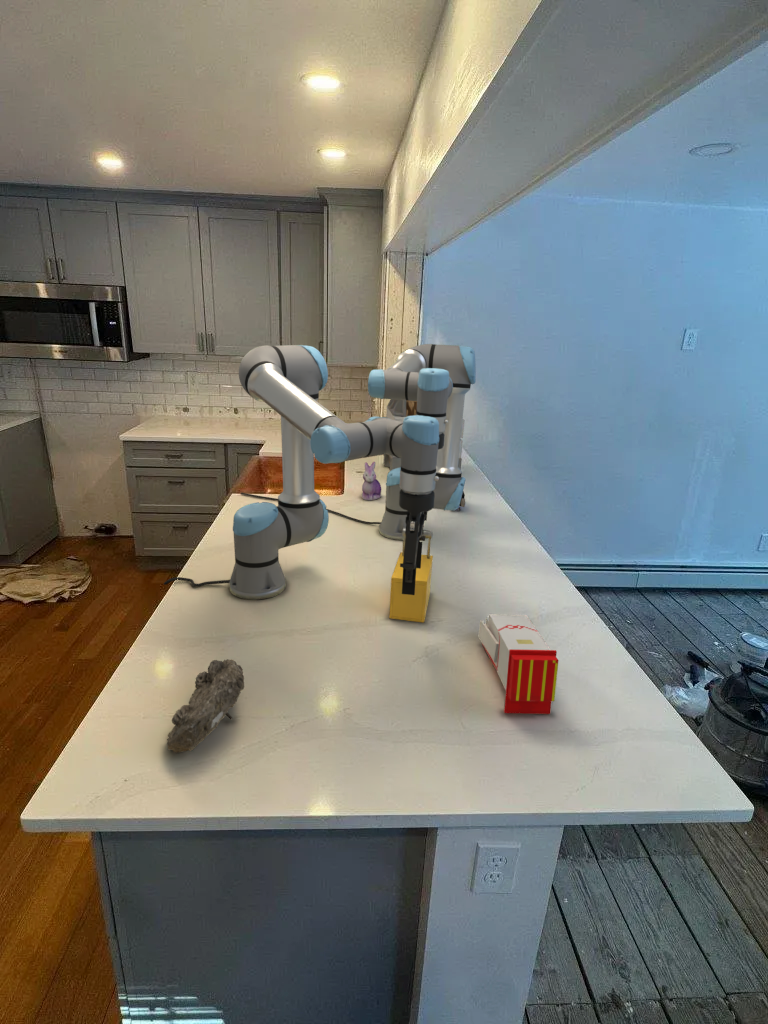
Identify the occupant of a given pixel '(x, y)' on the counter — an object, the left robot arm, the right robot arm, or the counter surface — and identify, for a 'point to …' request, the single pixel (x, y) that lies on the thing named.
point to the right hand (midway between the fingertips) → (424, 511)
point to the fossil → (206, 705)
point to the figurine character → (462, 501)
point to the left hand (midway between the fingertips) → (411, 580)
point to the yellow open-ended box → (409, 602)
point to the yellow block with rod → (421, 573)
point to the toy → (521, 662)
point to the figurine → (370, 483)
